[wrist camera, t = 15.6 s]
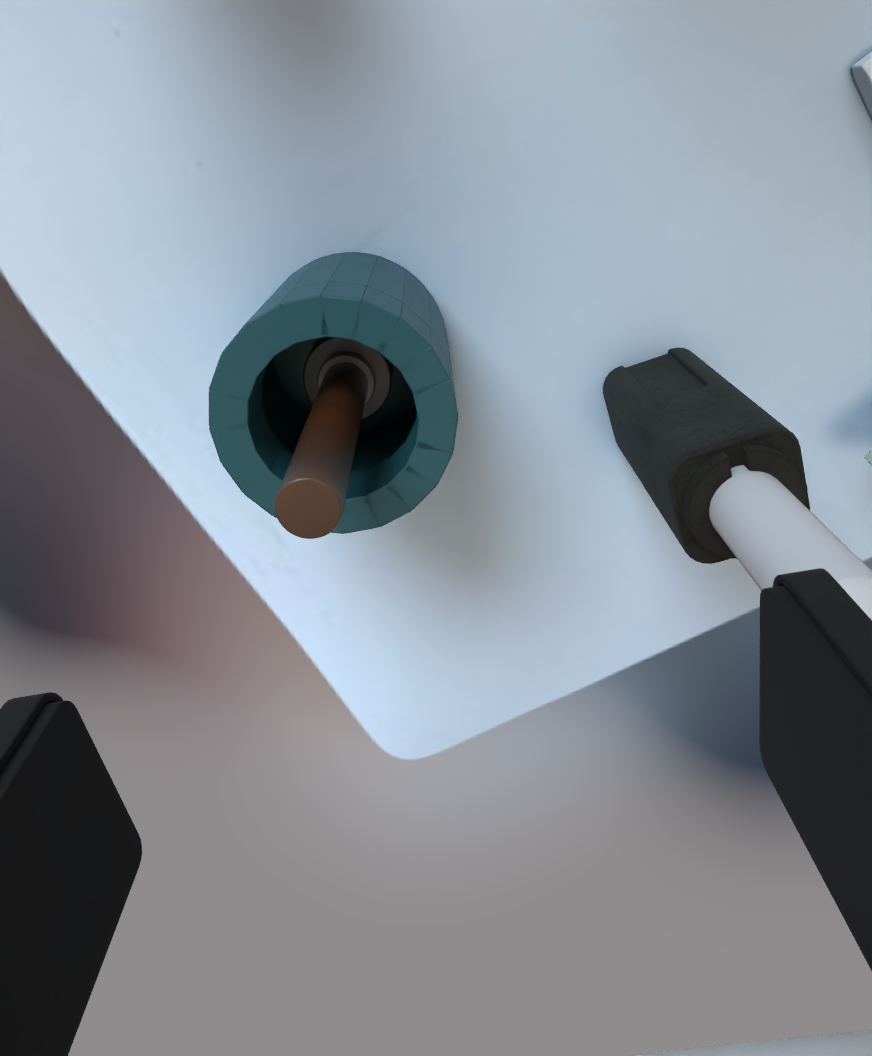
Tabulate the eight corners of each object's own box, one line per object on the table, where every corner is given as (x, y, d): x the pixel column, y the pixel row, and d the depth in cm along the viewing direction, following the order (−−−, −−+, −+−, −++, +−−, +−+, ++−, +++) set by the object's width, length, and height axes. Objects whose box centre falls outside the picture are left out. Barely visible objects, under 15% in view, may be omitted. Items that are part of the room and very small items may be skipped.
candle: (620, 459, 44) (825, 792, 22) (597, 373, 42) (799, 646, 20) (711, 429, 44) (1020, 742, 21) (693, 341, 41) (1015, 585, 19)
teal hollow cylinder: (240, 273, 40) (173, 325, 29) (427, 234, 39) (430, 271, 28) (292, 449, 44) (250, 551, 33) (462, 415, 43) (476, 509, 32)
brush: (306, 322, 40) (222, 460, 23) (384, 306, 40) (358, 433, 23) (327, 397, 42) (262, 578, 25) (401, 382, 41) (389, 555, 24)
